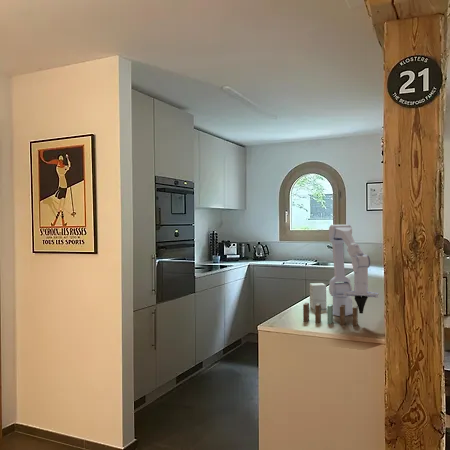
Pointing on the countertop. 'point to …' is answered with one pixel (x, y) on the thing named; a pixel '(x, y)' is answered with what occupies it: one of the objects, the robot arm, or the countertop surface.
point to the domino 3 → (330, 313)
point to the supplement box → (318, 295)
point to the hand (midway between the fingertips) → (361, 313)
